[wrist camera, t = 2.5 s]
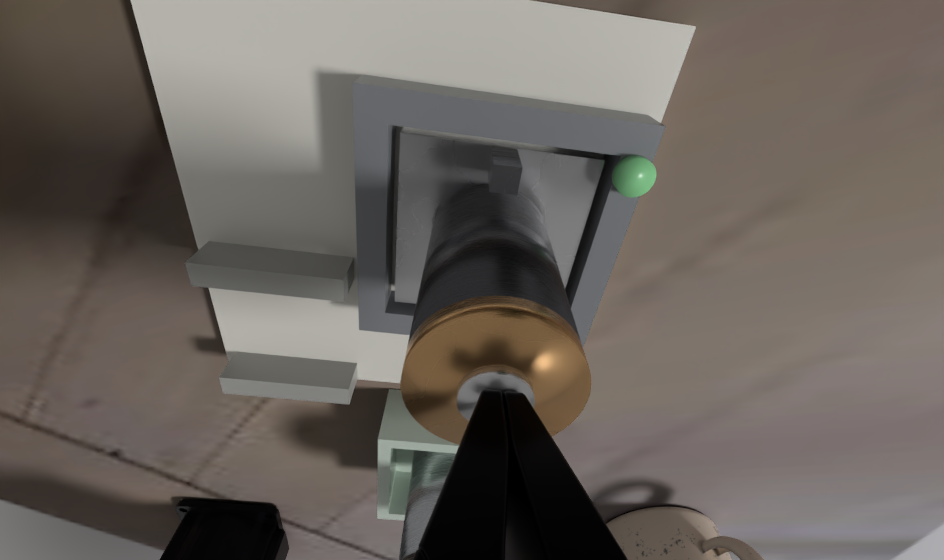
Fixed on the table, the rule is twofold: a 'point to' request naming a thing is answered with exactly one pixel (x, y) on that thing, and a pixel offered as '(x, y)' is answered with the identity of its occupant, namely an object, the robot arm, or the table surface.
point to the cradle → (506, 171)
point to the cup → (400, 455)
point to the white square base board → (378, 154)
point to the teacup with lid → (674, 536)
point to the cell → (492, 318)
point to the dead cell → (422, 496)
